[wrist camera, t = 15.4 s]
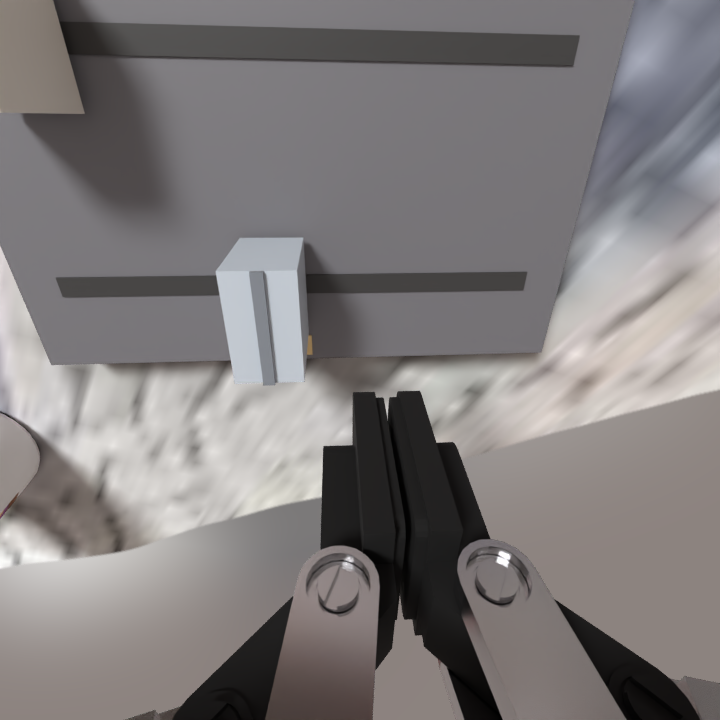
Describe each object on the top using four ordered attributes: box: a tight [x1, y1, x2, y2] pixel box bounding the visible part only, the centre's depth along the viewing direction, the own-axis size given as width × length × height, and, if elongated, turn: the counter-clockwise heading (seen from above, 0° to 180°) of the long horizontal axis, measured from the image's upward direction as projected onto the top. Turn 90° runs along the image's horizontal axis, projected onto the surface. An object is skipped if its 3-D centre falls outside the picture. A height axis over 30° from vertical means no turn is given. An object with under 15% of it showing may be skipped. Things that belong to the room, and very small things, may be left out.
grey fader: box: [216, 237, 309, 385], centre depth 19 cm, size 5×3×5 cm, turn 179°
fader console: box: [0, 0, 635, 365], centre depth 20 cm, size 19×28×3 cm
